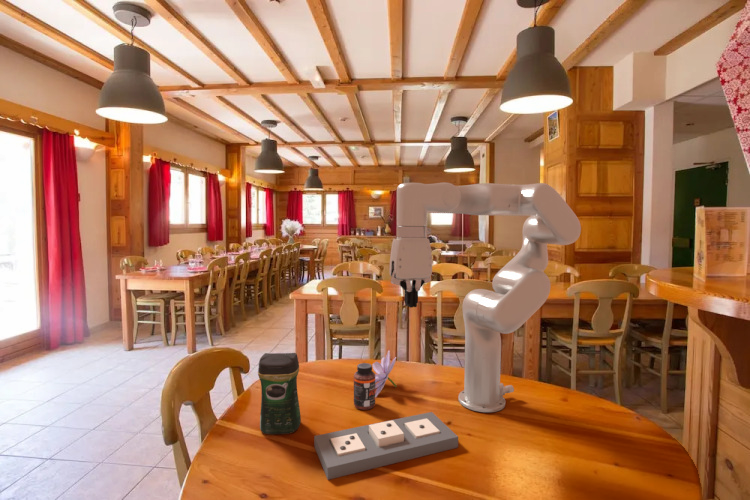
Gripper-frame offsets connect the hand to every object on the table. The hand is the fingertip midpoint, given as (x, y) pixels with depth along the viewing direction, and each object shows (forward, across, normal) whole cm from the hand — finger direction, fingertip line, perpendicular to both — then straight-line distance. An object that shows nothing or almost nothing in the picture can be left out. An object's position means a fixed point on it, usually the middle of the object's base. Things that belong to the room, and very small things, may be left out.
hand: (411, 306), depth 99 cm
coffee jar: (+29, +32, -7) cm, 44 cm away
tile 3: (+29, +20, +10) cm, 36 cm away
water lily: (+29, +1, -19) cm, 35 cm away
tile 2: (+27, +11, +10) cm, 31 cm away
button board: (+29, +11, +10) cm, 33 cm away
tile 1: (+29, +2, +10) cm, 30 cm away
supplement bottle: (+29, +9, -10) cm, 32 cm away
